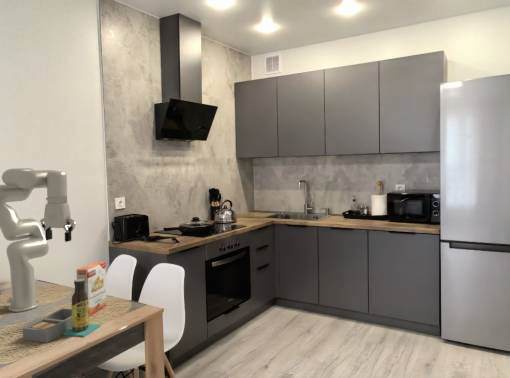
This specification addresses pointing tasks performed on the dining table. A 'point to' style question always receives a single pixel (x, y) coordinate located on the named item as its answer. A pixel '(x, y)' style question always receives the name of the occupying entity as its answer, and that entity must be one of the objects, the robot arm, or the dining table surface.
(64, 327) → the rack
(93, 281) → the cracker box
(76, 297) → the sauce bottle
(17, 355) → the dining table surface
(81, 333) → the mat
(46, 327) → the offcut upper
